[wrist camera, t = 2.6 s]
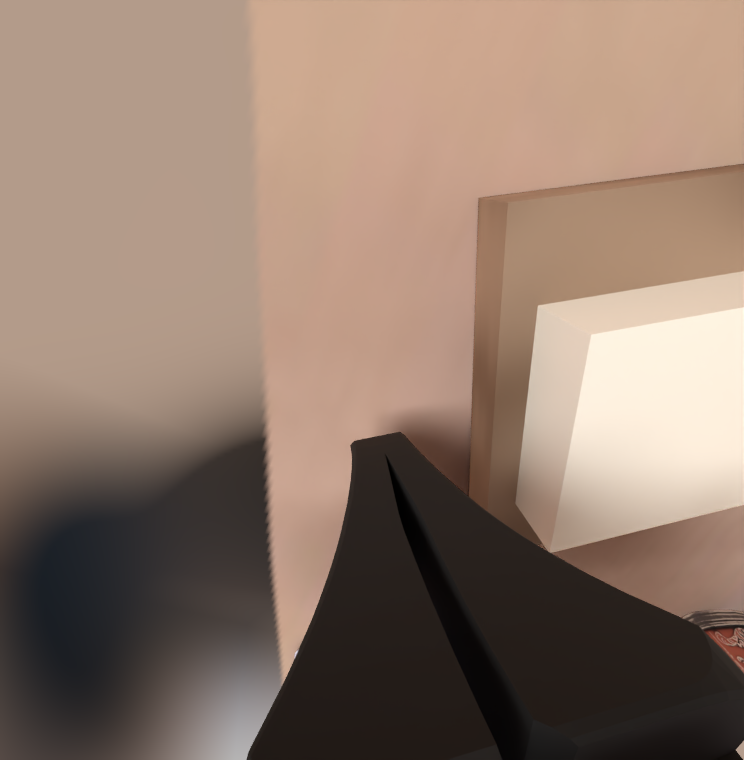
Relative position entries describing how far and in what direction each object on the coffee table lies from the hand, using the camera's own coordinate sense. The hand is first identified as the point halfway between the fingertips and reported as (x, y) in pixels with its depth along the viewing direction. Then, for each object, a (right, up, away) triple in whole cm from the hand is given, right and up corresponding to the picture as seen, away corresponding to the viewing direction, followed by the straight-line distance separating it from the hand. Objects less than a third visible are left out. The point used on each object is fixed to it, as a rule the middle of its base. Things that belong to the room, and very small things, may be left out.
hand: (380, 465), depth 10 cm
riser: (+8, +3, +3) cm, 9 cm away
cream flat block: (+8, +2, +2) cm, 8 cm away
